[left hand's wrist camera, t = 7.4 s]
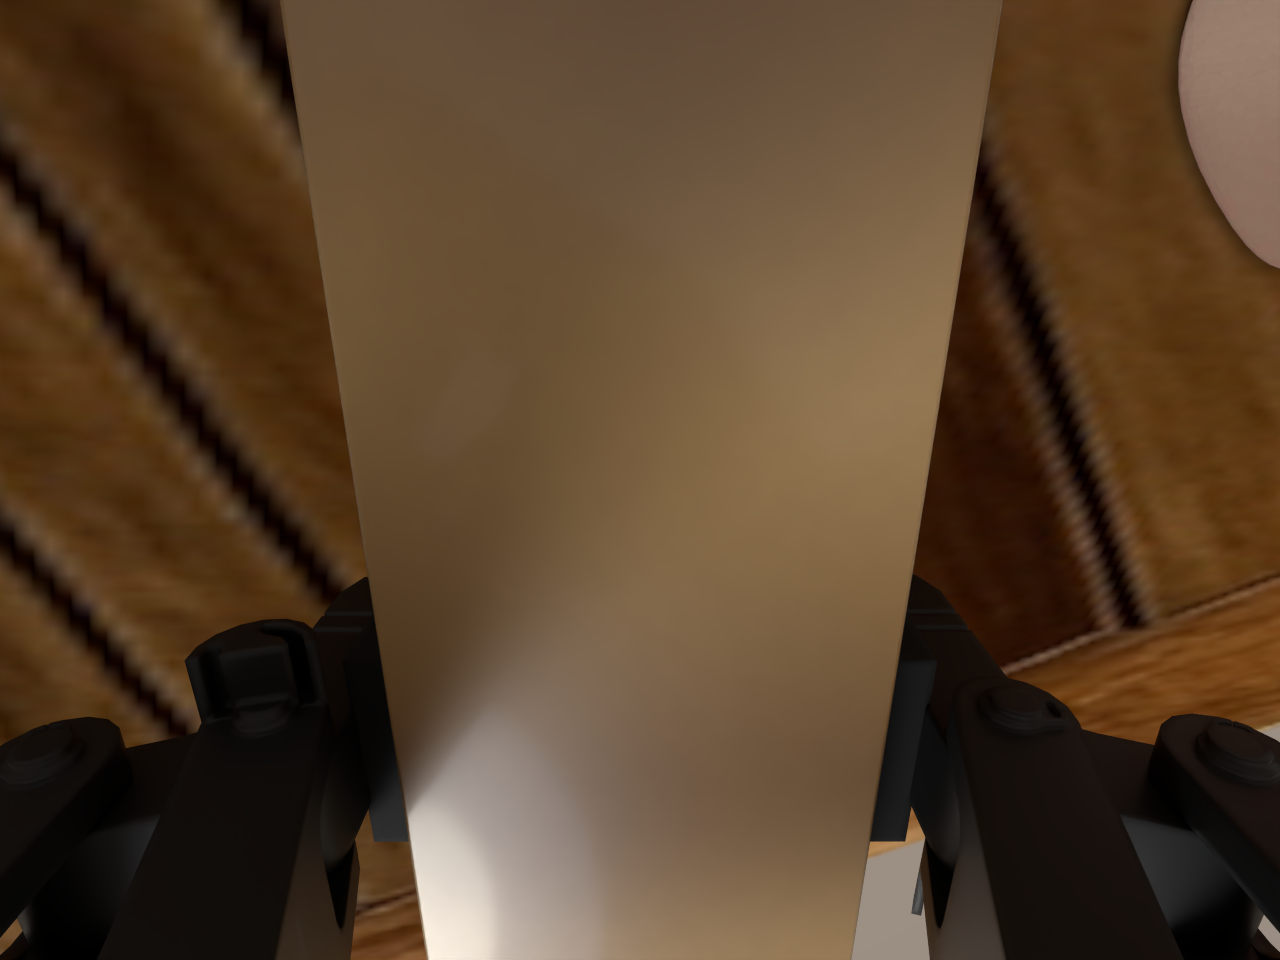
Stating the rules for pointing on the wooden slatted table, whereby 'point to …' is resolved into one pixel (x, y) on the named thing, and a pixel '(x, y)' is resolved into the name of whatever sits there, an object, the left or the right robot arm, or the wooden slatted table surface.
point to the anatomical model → (1236, 112)
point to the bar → (640, 438)
